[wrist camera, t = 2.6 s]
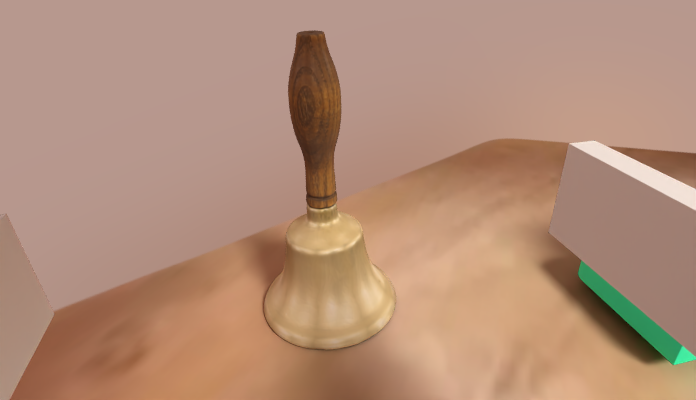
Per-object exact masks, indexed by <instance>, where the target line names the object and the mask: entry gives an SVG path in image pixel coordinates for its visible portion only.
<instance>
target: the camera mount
mask: <svg viewBox="0 0 696 400" xmlns="http://www.w3.org/2000/svg"><path fill="white" fill-rule="evenodd" d="M578 276H579V278H580V279H581V280H582V281H583V282H584V283H585V284H586V285H587V286H588V287H589V288H591V289H592V290H593V291H594V292H595V293H596V294H597V295H598V296H599V297H600V298H601V299H602V300H604V301H605V302H606V303H607V304H608V305H609V306H610V307H611V308H612V309H613V310H614V311H615V312H616V313H618V314H619V315H620V316H621V317H622V318H623V319H624V320H625V321H626V322H627V323H628V324H629V325H630V326H632V327H633V328H634V329H635V330H636V331H637V332H638V333H639V334H640V335H641V336H642V337H643V338H645V339H646V340H647V341H648V342H649V343H650V344H651V345H652V346H653V347H654V348H655V349H656V350H657V351H659V352H660V353H661V354H662V355H663V356H664V357H665V358H666V359H667V360H668V361H669V362H670V363H672V364H673V365H676V364H680V363H684V362H688V361H693V360H696V357H695V356H694V355H693V354H692V353H691V352H689V351H688V350H687V349H686V348H685V347H683V346H682V345H681V344H680V343H679V342H678V341H676V340H675V339H674V338H673V337H672V336H670V335H669V334H668V333H667V332H666V331H665V330H663V329H662V328H661V327H660V326H659V325H657V324H656V323H655V322H654V321H653V320H652V319H650V318H649V317H648V316H647V315H646V314H644V313H643V312H642V311H641V310H640V309H639V308H637V307H636V306H635V305H634V304H633V303H631V302H630V301H629V300H628V299H627V298H626V297H624V296H623V295H622V294H621V293H620V292H618V291H617V290H616V289H615V288H614V287H613V286H611V285H610V284H609V283H608V282H607V281H605V280H604V279H603V278H602V277H601V276H600V275H598V274H597V273H596V272H595V271H594V270H592V269H591V268H590V267H589V266H588V265H587V264H585V263H584V262H583V261H582V260H581V264H580V267H579V271H578Z"/></svg>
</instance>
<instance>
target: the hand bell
mask: <svg viewBox="0 0 696 400" xmlns="http://www.w3.org/2000/svg"><path fill="white" fill-rule="evenodd" d="M288 96H289V108H290V114H291V120H292V124H293V128H294V132H295V135H296V137H297V140H298V143H299V145H300V147H301V150H302V153H303V156H304V161H305V169H306V191H307V195H306V201H307V214H305V215H303V216H301V217H299V218H297V219H296V220H295V221H293V222H292V223H291V225H290V226H289V228H288V230H287V232H286V255H285V264H284V268H283V271H282V273H281V274H280V275H279V276H278V277H277V278H276V279H275V280H274V281H273V283H272V284H271V286H270V287H269V290H268V292H267V294H266V297H265V301H264V314H265V318H266V320H267V322H268V324H269V326H270V327H271V328H272V329H273V331H274V332H275V333H276V334H277V335H278V336H280V337H281V338H282V339H284V340H286V341H288V342H290V343H292V344H294V345H297V346H300V347H305V348H310V349H325V350H328V349H338V348H343V347H348V346H352V345H356V344H358V343H360V342H362V341H364V340H366V339H368V338H370V337H371V336H373V335H374V334H376V333H378V332H379V331H380V330H381V329H382V328H383V327H384V326H385V325H386V324H387V322H388V321H389V320H390V318H391V316H392V314H393V312H394V309H395V304H396V294H395V290H394V287H393V285H392V283H391V281H390V280H389V278H388V277H387V276H386V275H385V273H384V272H383V271H382V270H381V269H380V268H378V267H377V266H376V265H374V264H372V263H371V261H370V259H369V257H368V254H367V251H366V247H365V242H364V237H363V231H362V227H361V225H360V223H359V222H358V221H357V220H356V218H354V217H353V216H351V215H349V214H347V213H344V212H340V211H337V204H336V201H337V193H336V191H335V190H336V184H335V174H334V151H335V146H336V142H337V139H338V134H339V129H340V122H341V93H340V84H339V80H338V76H337V72H336V69H335V66H334V63H333V61H332V58H331V56H330V53H329V50H328V47H327V44H326V39H325V34H324V32H322V31H303V32H299V33H297V38H296V48H295V53H294V57H293V61H292V65H291V70H290V76H289V85H288Z"/></svg>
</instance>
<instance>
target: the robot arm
mask: <svg viewBox="0 0 696 400" xmlns="http://www.w3.org/2000/svg"><path fill="white" fill-rule="evenodd" d="M549 233H550V234H551V235H552V236H553V237H555V238H556V239H557V240H558V241H559V242H561V243H562V244H563V245H564V246H565V247H566V248H568V249H569V250H570V251H571V252H572V253H574V254H575V255H576V256H577V257H578V258H579V259H581V260H582V261H583V262H584V263H585V264H587V265H588V266H589V267H590V268H591V269H592V270H594V271H595V272H596V273H597V274H598V275H600V276H601V277H602V278H603V279H604V280H605V281H607V282H608V283H609V284H610V285H611V286H613V287H614V288H615V289H616V290H617V291H618V292H620V293H621V294H622V295H623V296H624V297H626V298H627V299H628V300H629V301H630V302H631V303H633V304H634V305H635V306H636V307H637V308H639V309H640V310H641V311H642V312H643V313H644V314H646V315H647V316H648V317H649V318H650V319H652V320H653V321H654V322H655V323H656V324H657V325H659V326H660V327H661V328H662V329H663V330H665V331H666V332H667V333H668V334H669V335H670V336H672V337H673V338H674V339H675V340H676V341H678V342H679V343H680V344H681V345H682V346H683V347H685V348H686V349H687V350H688V351H689V352H691V353H692V354H693V355H694V356H695V357H696V189H695V188H692V187H690V186H688V185H686V184H684V183H682V182H680V181H678V180H676V179H674V178H672V177H670V176H667V175H665V174H663V173H661V172H659V171H657V170H655V169H653V168H651V167H649V166H647V165H645V164H643V163H640V162H638V161H636V160H634V159H632V158H630V157H628V156H626V155H624V154H622V153H620V152H618V151H616V150H613V149H611V148H609V147H607V146H605V145H603V144H601V143H599V142H597V141H595V140H594V141H586V142H577V143H569V145H568V150H567V154H566V158H565V163H564V167H563V171H562V176H561V180H560V184H559V189H558V193H557V197H556V202H555V206H554V210H553V215H552V219H551V223H550V228H549ZM53 316H54V312H53V310H52V308H51V306H50V304H49V301H48V299H47V297H46V295H45V293H44V291H43V289H42V287H41V285H40V283H39V281H38V279H37V276H36V274H35V272H34V270H33V268H32V266H31V264H30V262H29V260H28V258H27V255H26V254H25V252H24V249H23V247H22V245H21V243H20V241H19V239H18V237H17V235H16V233H15V230H14V228H13V226H12V224H11V222H10V220H9V218H8V216H7V214H0V400H10V398H11V396H12V394H13V392H14V390H15V389H16V387H17V385H18V383H19V381H20V379H21V377H22V375H23V373H24V371H25V369H26V368H27V366H28V364H29V362H30V360H31V358H32V356H33V354H34V352H35V350H36V349H37V347H38V345H39V343H40V341H41V339H42V337H43V335H44V333H45V331H46V329H47V328H48V326H49V324H50V322H51V320H52V318H53Z"/></svg>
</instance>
